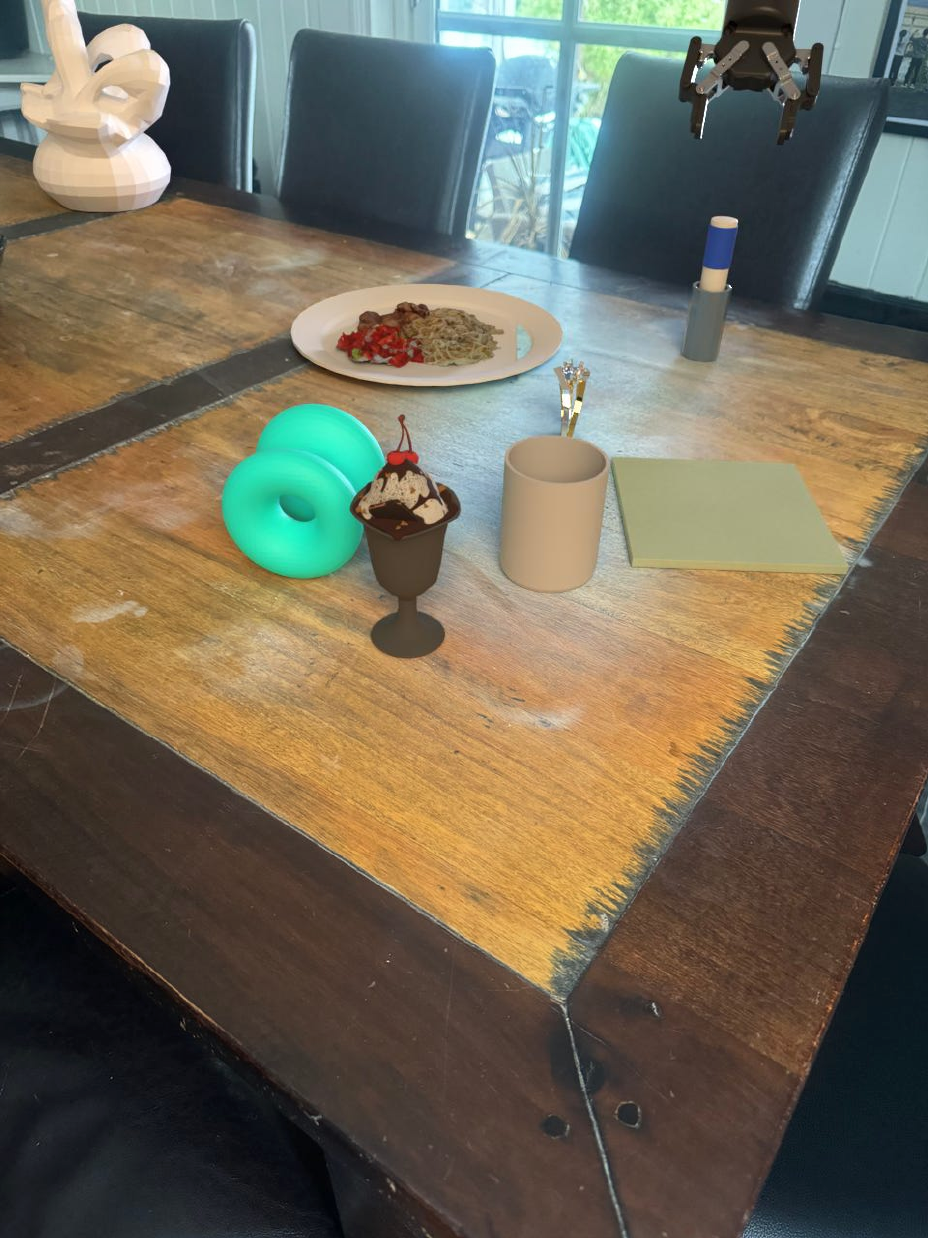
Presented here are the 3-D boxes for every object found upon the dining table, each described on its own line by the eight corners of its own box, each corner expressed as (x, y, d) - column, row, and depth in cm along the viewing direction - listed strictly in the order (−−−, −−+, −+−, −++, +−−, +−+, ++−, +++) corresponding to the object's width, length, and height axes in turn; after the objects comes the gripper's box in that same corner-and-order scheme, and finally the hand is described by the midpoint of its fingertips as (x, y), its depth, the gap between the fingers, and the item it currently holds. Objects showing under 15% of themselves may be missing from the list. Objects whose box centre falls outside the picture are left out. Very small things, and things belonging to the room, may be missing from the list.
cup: (488, 585, 66) (493, 475, 60) (517, 516, 73) (524, 413, 68) (587, 602, 64) (602, 492, 59) (606, 530, 72) (621, 426, 66)
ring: (580, 466, 80) (589, 380, 75) (543, 463, 80) (551, 377, 75) (583, 431, 86) (592, 349, 81) (548, 428, 86) (556, 346, 81)
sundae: (416, 593, 65) (413, 394, 56) (477, 640, 61) (485, 434, 51) (338, 629, 61) (321, 423, 52) (397, 681, 57) (390, 468, 48)
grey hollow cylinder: (713, 353, 102) (727, 280, 97) (719, 367, 99) (734, 292, 94) (678, 352, 102) (690, 279, 97) (683, 366, 99) (696, 291, 94)
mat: (792, 471, 80) (794, 462, 80) (846, 575, 68) (849, 566, 67) (611, 464, 81) (612, 456, 80) (631, 567, 68) (632, 558, 67)
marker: (710, 350, 101) (735, 215, 92) (714, 359, 99) (741, 223, 90) (684, 349, 101) (708, 215, 92) (688, 358, 99) (713, 222, 90)
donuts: (226, 578, 66) (204, 453, 60) (270, 508, 73) (256, 391, 67) (361, 593, 65) (353, 468, 58) (391, 520, 72) (388, 403, 66)
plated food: (596, 324, 108) (600, 295, 106) (497, 423, 86) (499, 390, 84) (375, 284, 118) (374, 257, 116) (236, 365, 96) (232, 334, 94)
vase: (193, 216, 142) (151, -65, 120) (39, 226, 135) (-34, -69, 114) (174, 175, 163) (136, -70, 141) (41, 182, 157) (-21, -74, 135)
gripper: (699, -34, 95) (672, 108, 93) (842, -29, 93) (817, 117, 91) (694, 22, 103) (669, 154, 101) (825, 29, 100) (802, 165, 98)
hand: (739, 137), depth 96 cm, fingers open, 8 cm apart
